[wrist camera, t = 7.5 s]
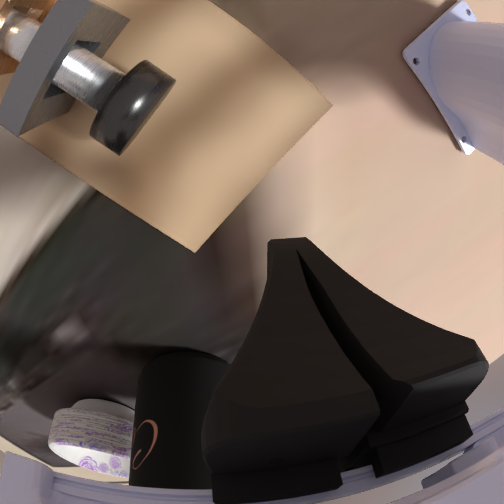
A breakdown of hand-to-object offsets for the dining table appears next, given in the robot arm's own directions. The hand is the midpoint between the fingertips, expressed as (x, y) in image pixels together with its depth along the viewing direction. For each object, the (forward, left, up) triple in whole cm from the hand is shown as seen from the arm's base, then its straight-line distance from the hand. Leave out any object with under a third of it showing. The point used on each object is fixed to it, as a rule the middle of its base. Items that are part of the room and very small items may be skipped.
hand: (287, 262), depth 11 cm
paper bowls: (-6, +36, -9) cm, 38 cm away
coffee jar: (-9, +20, -9) cm, 24 cm away
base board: (+11, 0, -9) cm, 14 cm away
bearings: (+16, 0, -8) cm, 18 cm away
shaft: (+15, 0, -7) cm, 16 cm away
